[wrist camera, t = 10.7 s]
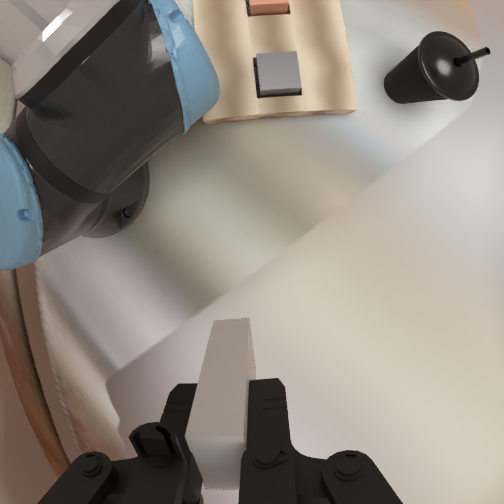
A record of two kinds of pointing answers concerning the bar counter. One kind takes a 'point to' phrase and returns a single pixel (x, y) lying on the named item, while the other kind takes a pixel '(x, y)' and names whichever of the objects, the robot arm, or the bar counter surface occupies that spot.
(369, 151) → the bar counter surface
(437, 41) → the drinking cup
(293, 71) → the gray block
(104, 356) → the bar counter surface
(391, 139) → the bar counter surface
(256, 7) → the salmon block
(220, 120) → the panel
